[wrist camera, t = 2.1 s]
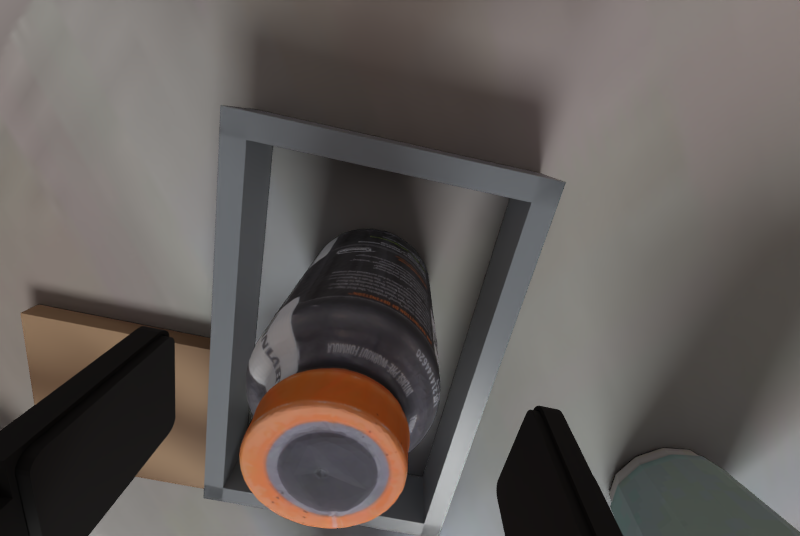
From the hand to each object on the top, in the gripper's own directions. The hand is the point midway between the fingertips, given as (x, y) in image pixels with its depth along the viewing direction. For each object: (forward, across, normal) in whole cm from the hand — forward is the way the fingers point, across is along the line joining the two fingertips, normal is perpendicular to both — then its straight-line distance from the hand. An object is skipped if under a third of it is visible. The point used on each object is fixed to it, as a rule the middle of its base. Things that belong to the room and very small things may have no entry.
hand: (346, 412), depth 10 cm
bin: (+10, 0, +4) cm, 10 cm away
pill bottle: (+10, 0, +1) cm, 10 cm away
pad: (+9, +12, +11) cm, 19 cm away
